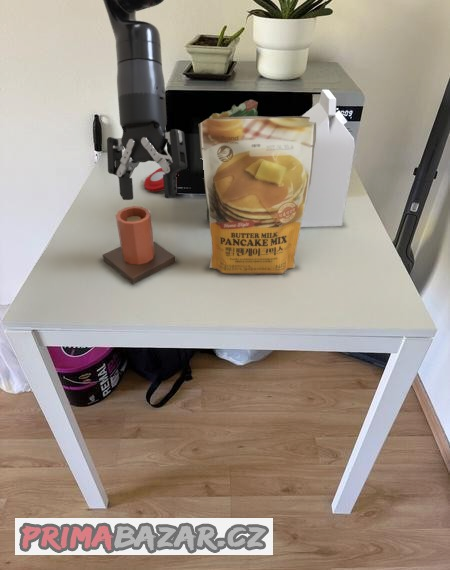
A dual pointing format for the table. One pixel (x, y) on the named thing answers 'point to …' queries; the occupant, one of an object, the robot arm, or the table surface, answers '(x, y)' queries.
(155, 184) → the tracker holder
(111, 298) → the table surface
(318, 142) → the milk
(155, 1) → the robot arm
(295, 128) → the pancake mix bag
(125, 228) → the faceted terracotta cup
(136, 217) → the ring stand
